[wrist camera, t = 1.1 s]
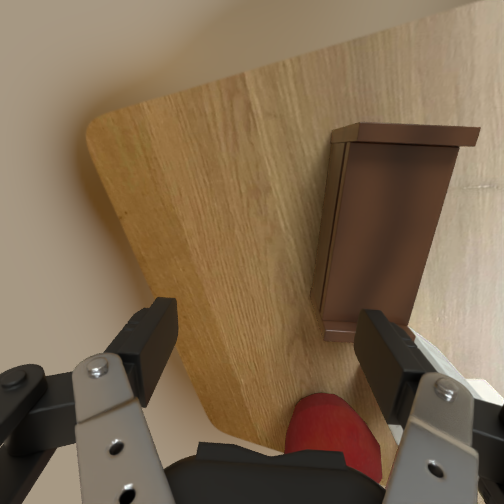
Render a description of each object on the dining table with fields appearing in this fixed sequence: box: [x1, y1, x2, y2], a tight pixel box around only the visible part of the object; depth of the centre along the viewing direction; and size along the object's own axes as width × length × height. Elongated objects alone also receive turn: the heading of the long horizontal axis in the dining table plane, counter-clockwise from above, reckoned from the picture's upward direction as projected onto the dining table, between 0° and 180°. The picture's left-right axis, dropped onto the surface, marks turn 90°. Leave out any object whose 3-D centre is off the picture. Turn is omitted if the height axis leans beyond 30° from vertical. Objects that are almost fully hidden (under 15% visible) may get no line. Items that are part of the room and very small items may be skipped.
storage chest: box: [310, 122, 481, 343], centre depth 25 cm, size 8×18×8 cm, turn 177°
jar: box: [465, 378, 504, 504], centre depth 31 cm, size 9×8×12 cm
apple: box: [284, 393, 382, 484], centre depth 32 cm, size 11×11×12 cm
